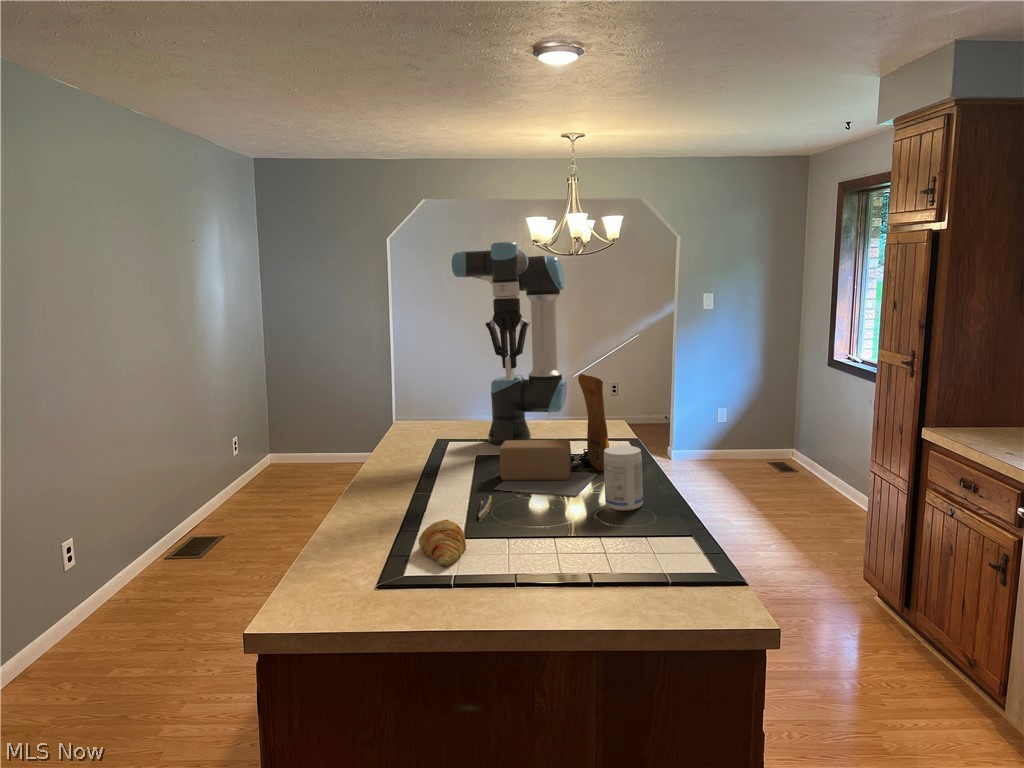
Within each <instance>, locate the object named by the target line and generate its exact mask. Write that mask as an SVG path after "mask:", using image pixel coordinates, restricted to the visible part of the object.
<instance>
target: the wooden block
mask: <svg viewBox="0 0 1024 768" xmlns="http://www.w3.org/2000/svg"><path fill="white" fill-rule="evenodd" d="M571 450H572V449H571V442H570V440H569V439H531V440H506V441H504V442H503V444H502V445H500V448H499V467H500V479H501V480H502V481H503V482H504V481H510V480H568V479H569V478H570V473H571V472H572V458H571V456H572V455H571V453H572V452H571Z"/></svg>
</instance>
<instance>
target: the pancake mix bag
mask: <svg viewBox="0 0 1024 768" xmlns="http://www.w3.org/2000/svg"><path fill="white" fill-rule="evenodd" d="M577 378H578V379H577V381H578V383H579V387H580V389H581V391H582V394H583V398H584V401H585V407H586V412H587V430H586V431H587V434H586V438H587V440H586V441H587V443H586V445H587V458H588V457H589V460H590V462H589V464H590V465H592V466H593V468H594V469H595V470H598V471H603V472H604V450H605V449H606V448H609V447H610V443H609V435H608V434H609V433H608V425H607V421H606V416H605V415H606V412H605V404H604V390H603V388H604V381H603V380H601V379H600V378H599V377H595V376H592V375H586V374H583V373H580V374H579V375H578V377H577Z"/></svg>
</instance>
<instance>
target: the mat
mask: <svg viewBox="0 0 1024 768" xmlns="http://www.w3.org/2000/svg"><path fill="white" fill-rule="evenodd" d="M597 476H598V473H596V472H595V473H593V472H575V471H571V473H570V478H569V479H568V480H510V481H504V480H503V481H502V482H501V483H500V484H498V485H496V487H494V488H493V489H495V490H504V491H512V492H511V493H517V492H520V493H521V494H530V495H532V494H534V495H545V496H555V497H556V496H557V497H569V498H570V497H572V498H576V497H577V496H578V495H579V494H580V493H582V491H583V490H584V489H585V488H586V487H587V486H588V485H589V484H590V483H591V482H592V481H593V480H594V479H595V478H596V477H597ZM520 493H519V494H520Z"/></svg>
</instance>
